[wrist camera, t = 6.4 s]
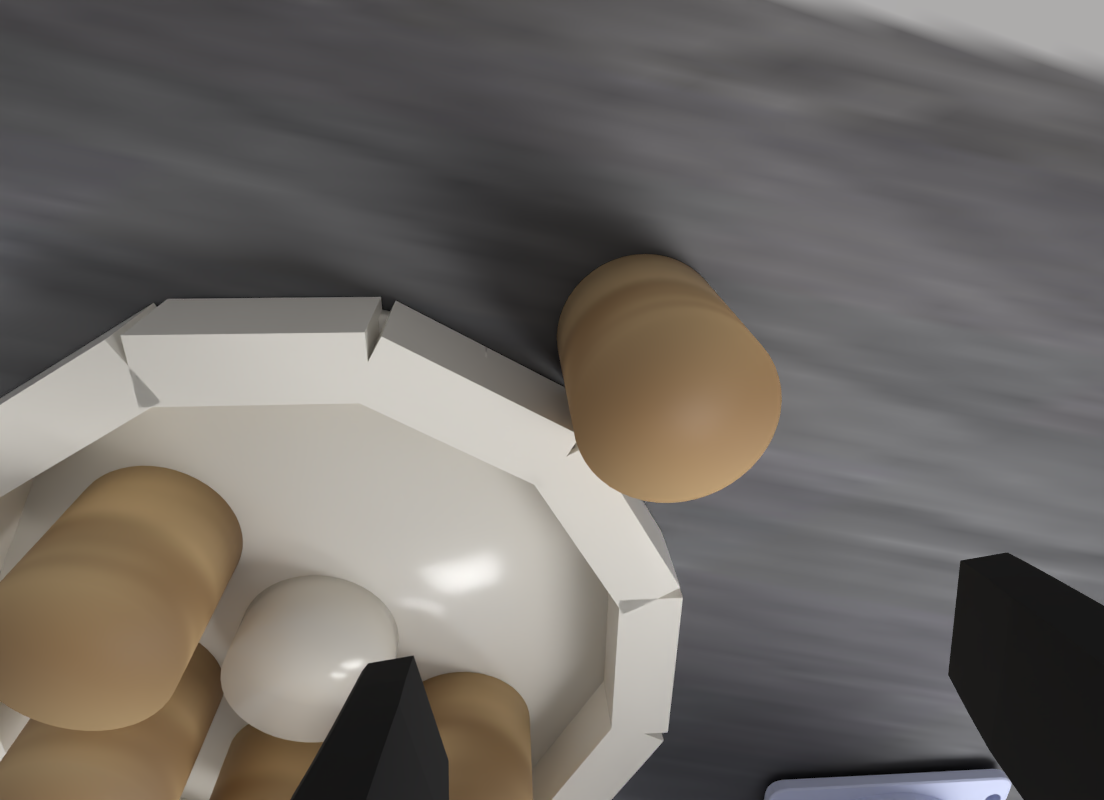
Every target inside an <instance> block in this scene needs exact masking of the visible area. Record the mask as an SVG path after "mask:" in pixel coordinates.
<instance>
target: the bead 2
mask: <svg viewBox="0 0 1104 800" xmlns="http://www.w3.org/2000/svg"><path fill="white" fill-rule="evenodd" d="M557 347H558V353H559V358H560V363H561V368H562V373H563V379H564V384H565V389H566V394H567V399H568V404H569V410H570V415H571V420H572V425H573V430H574V435H575V440H576V443H577V446H578V449H579V452H580V453H581V455H582V457H583V459H584V461H585V462H586V464H587V465H588V466H589V468H590V469H591V471H592V472H593V473H594V474H595V475H596V476H597V477H598V478H599V479H600V480H602V481H603V482H604V483H605V484H607V485H608V486H609V487H611V488H613V489H615V490H616V491H618V492H620V493H622V494H625V495H627V496H629V497H632V498H636V499H639V500H643V501H649V502H657V503H674V502H683V501H689V500H694V499H697V498H701V497H704V496H707V495H710V494H712V493H714V492H717V491H719V490H721V489H723V488H724V487H726V486H728V485H730V484H731V483H733V482H734V481H736V480H737V479H738V478H740V477H741V476H742V475H743V474H745V473H746V472H747V471H748V470H749V469H750V468H751V467H752V466H753V465H754V464H755V463H756V462H757V461H758V459H759V458H760V457H761V456H762V454H763V453H764V451H765V450H766V448H767V447H768V445H769V443H770V441H771V439H772V438H773V435H774V433H775V430H776V428H777V425H778V421H779V417H780V412H781V401H782V398H781V386H780V381H779V376H778V373H777V371H776V368H775V365H774V363H773V361H772V360H771V358H770V356H769V354H768V353H767V352H766V350H765V349H764V348H763V346H762V345H761V344H760V343H759V342H758V340H757V339H756V338H755V337H754V336H753V335H752V334H751V332H750V331H749V330H748V329H747V328H746V327H745V326H744V324H743V323H742V322H741V321H740V320H739V319H738V317H737V316H736V315H735V314H734V313H733V312H732V311H731V309H730V308H729V307H728V306H727V305H726V304H725V303H724V301H723V300H722V299H721V298H720V297H719V296H718V295H717V293H716V292H715V291H714V290H713V289H712V288H711V286H710V285H709V284H708V283H707V282H706V281H705V280H704V278H703V277H701V276H700V275H699V274H698V273H697V272H696V271H695V270H693V269H692V268H691V267H689V266H688V265H686V264H684V263H682V262H680V261H678V260H675V259H672V258H670V257H666V256H661V255H655V254H637V255H630V256H625V257H621V258H618V259H615V260H612V261H610V262H608V263H606V264H604V265H602V266H600V267H599V268H597V269H595V270H594V271H592V272H591V273H590V274H589V275H587V276H586V277H585V278H584V279H583V280H582V281H581V282H580V283H579V284H578V285H577V286H576V287H575V289H574V290H573V292H572V293H571V294H570V296H569V297H568V299H567V301H566V303H565V305H564V307H563V310H562V312H561V315H560V319H559V323H558V329H557Z"/></svg>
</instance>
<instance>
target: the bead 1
mask: <svg viewBox="0 0 1104 800" xmlns="http://www.w3.org/2000/svg"><path fill="white" fill-rule="evenodd" d="M423 685H424V688H425V691H426V694H427V697H428V700H429V703H430V706H431V709H432V712H433V715H434V718H435V721H436V724H437V727H438V730H439V733H440V736H441V739H442V742H443V745H444V748H445V751H446V754H447V757H448V760H449V800H533V787H532V762H531V737H530V716H529V710H528V707H527V704H526V703H525V701H524V699H523V698H522V696H521V695H520V694H519V693H518V692H517V691H516V690H515V689H514V688H513V687H511V686H510V685H509V684H507V683H505V682H503V681H502V680H499V679H497V678H495V677H492V676H488V675H485V674H480V673H473V672H454V673H447V674H442V675H438V676H435V677H432V678H429V679H427V680H425V681H423Z"/></svg>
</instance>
